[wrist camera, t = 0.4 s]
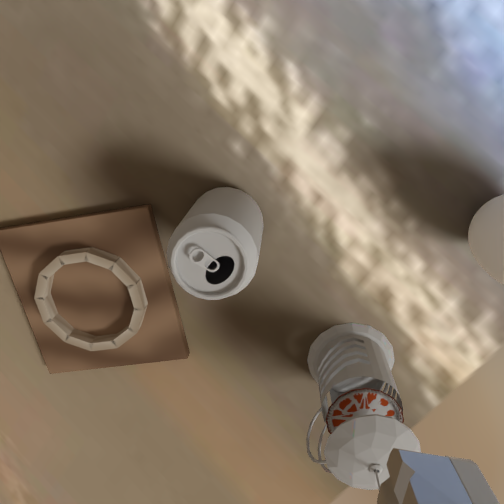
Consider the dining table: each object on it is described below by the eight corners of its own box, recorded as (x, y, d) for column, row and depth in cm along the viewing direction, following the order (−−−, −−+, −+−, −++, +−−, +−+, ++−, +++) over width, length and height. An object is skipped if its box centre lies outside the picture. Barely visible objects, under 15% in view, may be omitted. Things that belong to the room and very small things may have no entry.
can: (232, 268, 48) (216, 325, 36) (177, 223, 46) (142, 269, 35) (279, 217, 45) (276, 262, 34) (222, 169, 44) (200, 199, 33)
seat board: (0, 228, 48) (-16, 236, 45) (150, 204, 46) (142, 211, 43) (54, 367, 54) (43, 381, 51) (189, 352, 52) (184, 366, 49)
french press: (413, 360, 50) (523, 603, 27) (337, 417, 54) (377, 675, 30) (352, 306, 48) (415, 516, 25) (278, 369, 52) (272, 604, 28)
